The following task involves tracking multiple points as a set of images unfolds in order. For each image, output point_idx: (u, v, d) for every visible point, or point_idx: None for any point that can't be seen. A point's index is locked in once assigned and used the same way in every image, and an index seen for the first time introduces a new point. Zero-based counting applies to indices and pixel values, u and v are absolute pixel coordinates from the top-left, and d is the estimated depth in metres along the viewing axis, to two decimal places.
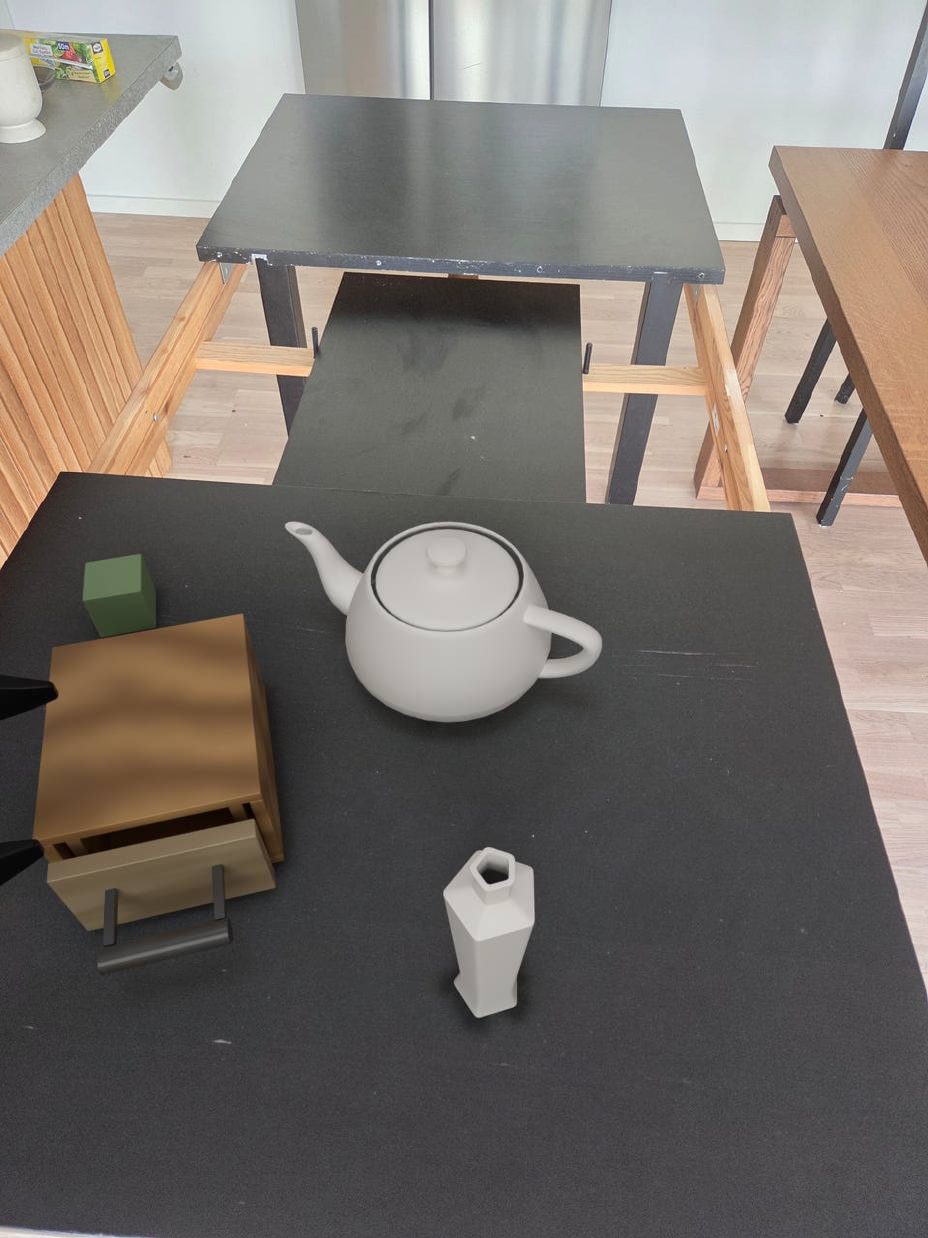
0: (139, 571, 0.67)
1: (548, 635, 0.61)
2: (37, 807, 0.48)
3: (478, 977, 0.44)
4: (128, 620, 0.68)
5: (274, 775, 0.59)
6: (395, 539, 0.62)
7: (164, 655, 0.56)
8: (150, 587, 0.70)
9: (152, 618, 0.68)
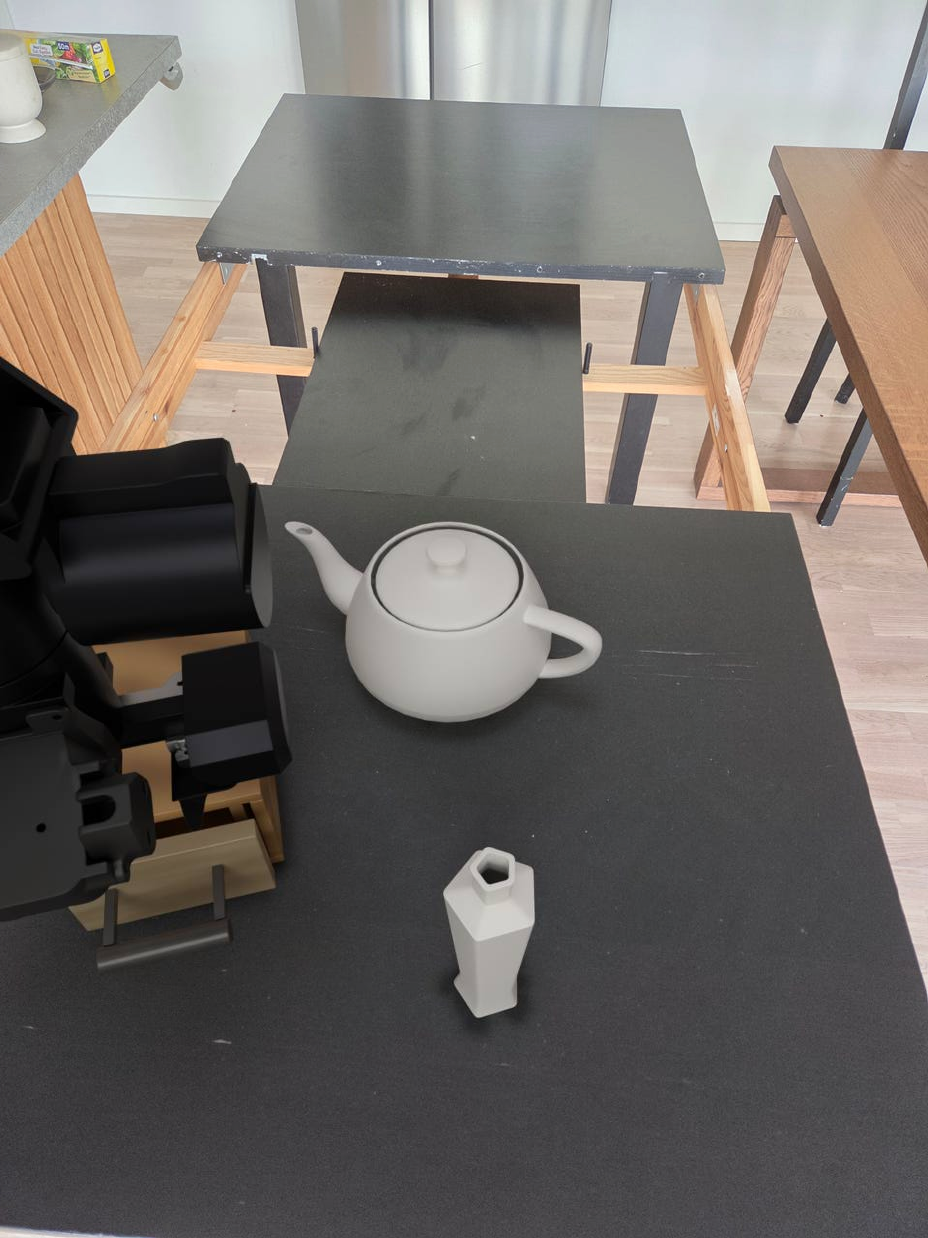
0: None
1: (548, 635, 0.61)
2: None
3: (478, 977, 0.44)
4: None
5: (274, 775, 0.59)
6: (395, 539, 0.62)
7: (164, 655, 0.56)
8: None
9: None
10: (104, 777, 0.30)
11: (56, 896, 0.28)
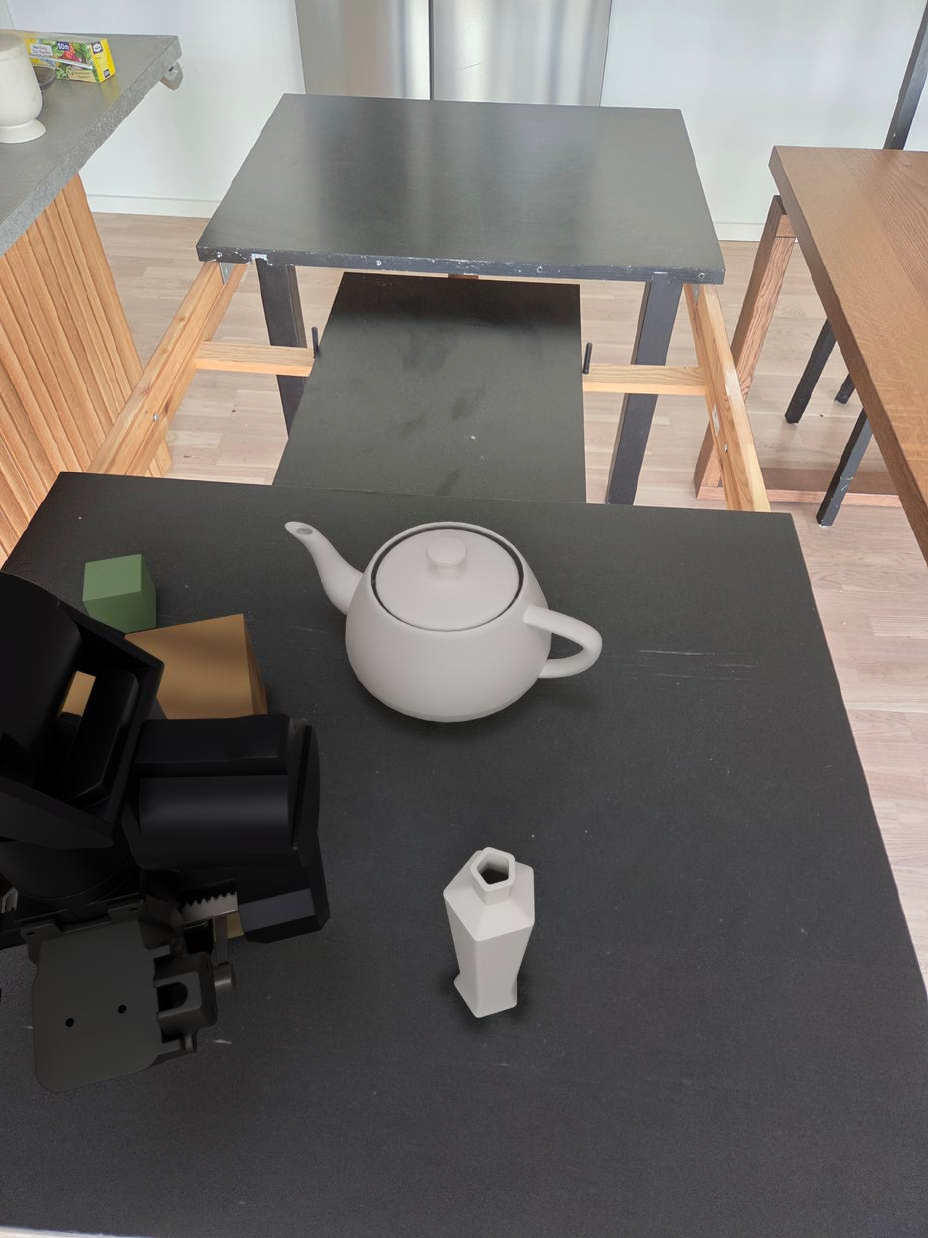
0: (139, 571, 0.67)
1: (548, 635, 0.61)
2: None
3: (478, 977, 0.44)
4: (128, 620, 0.68)
5: None
6: (395, 539, 0.62)
7: (164, 655, 0.56)
8: (150, 587, 0.70)
9: (152, 618, 0.68)
10: (174, 958, 0.35)
11: None
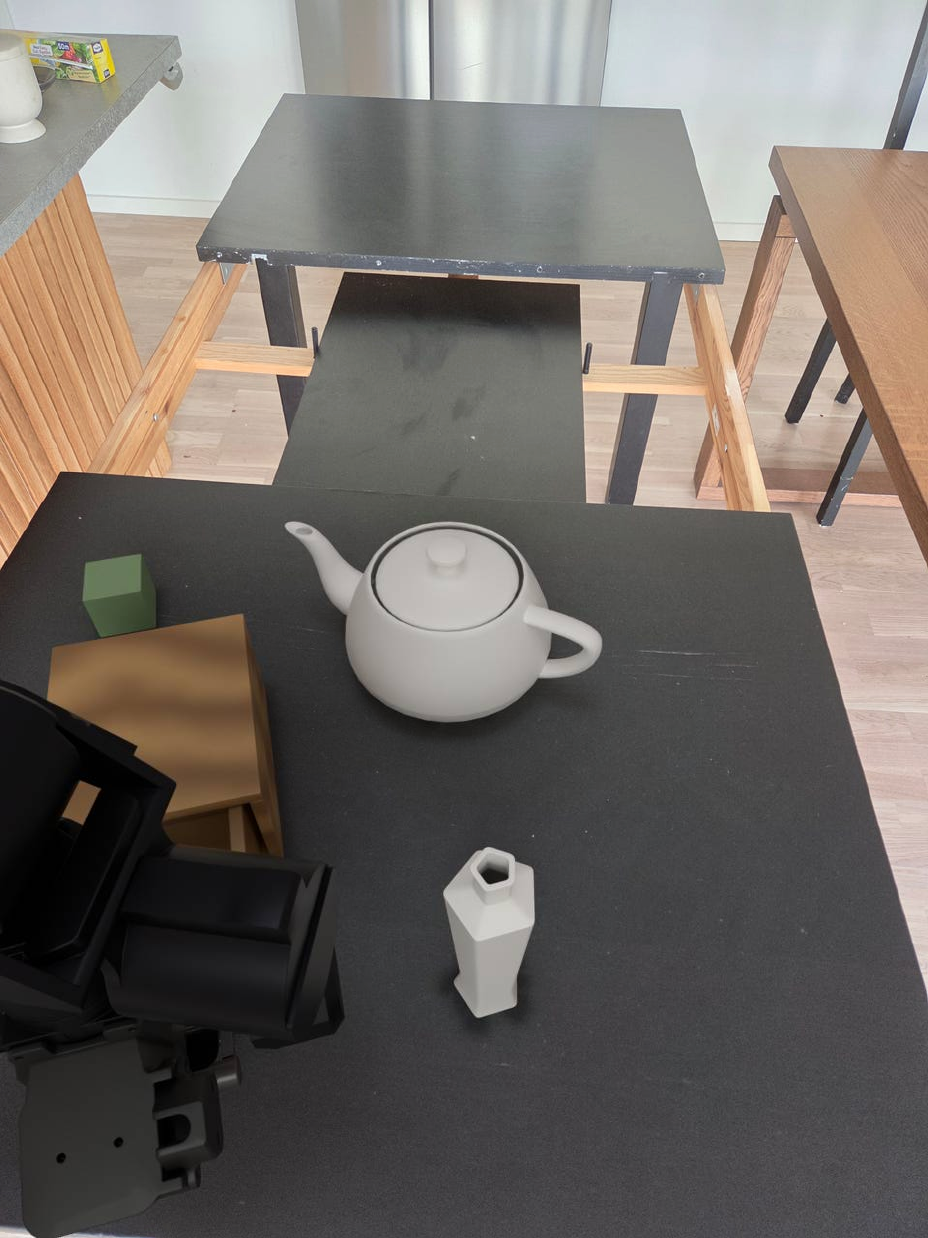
0: (139, 571, 0.67)
1: (548, 635, 0.61)
2: None
3: (478, 977, 0.44)
4: (128, 620, 0.68)
5: (274, 775, 0.59)
6: (395, 539, 0.62)
7: (164, 655, 0.56)
8: (150, 587, 0.70)
9: (152, 618, 0.68)
10: (176, 1082, 0.32)
11: (134, 1215, 0.30)
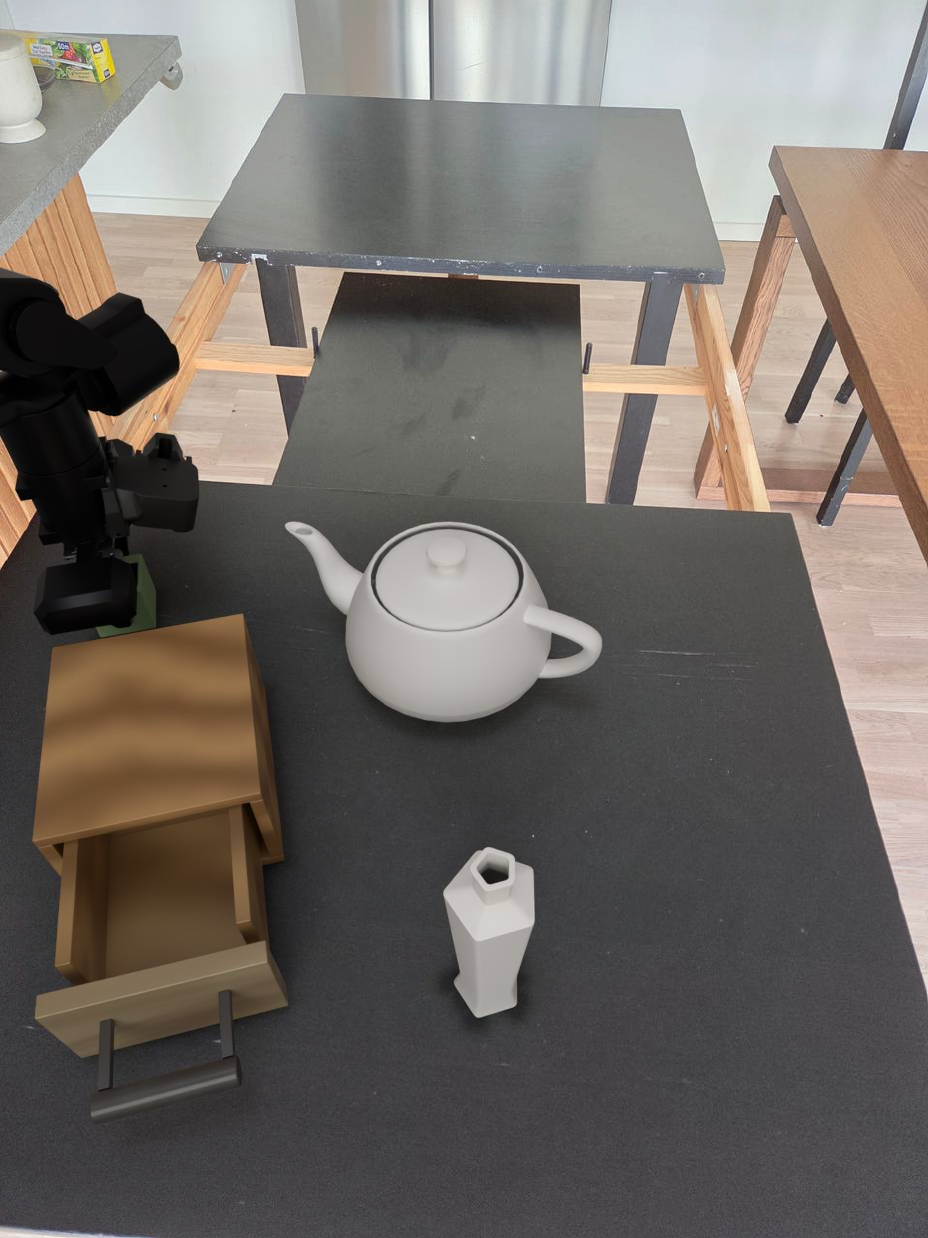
0: (139, 571, 0.67)
1: (548, 635, 0.61)
2: (37, 807, 0.48)
3: (478, 977, 0.44)
4: None
5: (274, 775, 0.59)
6: (395, 539, 0.62)
7: (164, 655, 0.56)
8: (150, 587, 0.70)
9: (152, 618, 0.68)
10: (143, 455, 0.63)
11: (197, 472, 0.63)
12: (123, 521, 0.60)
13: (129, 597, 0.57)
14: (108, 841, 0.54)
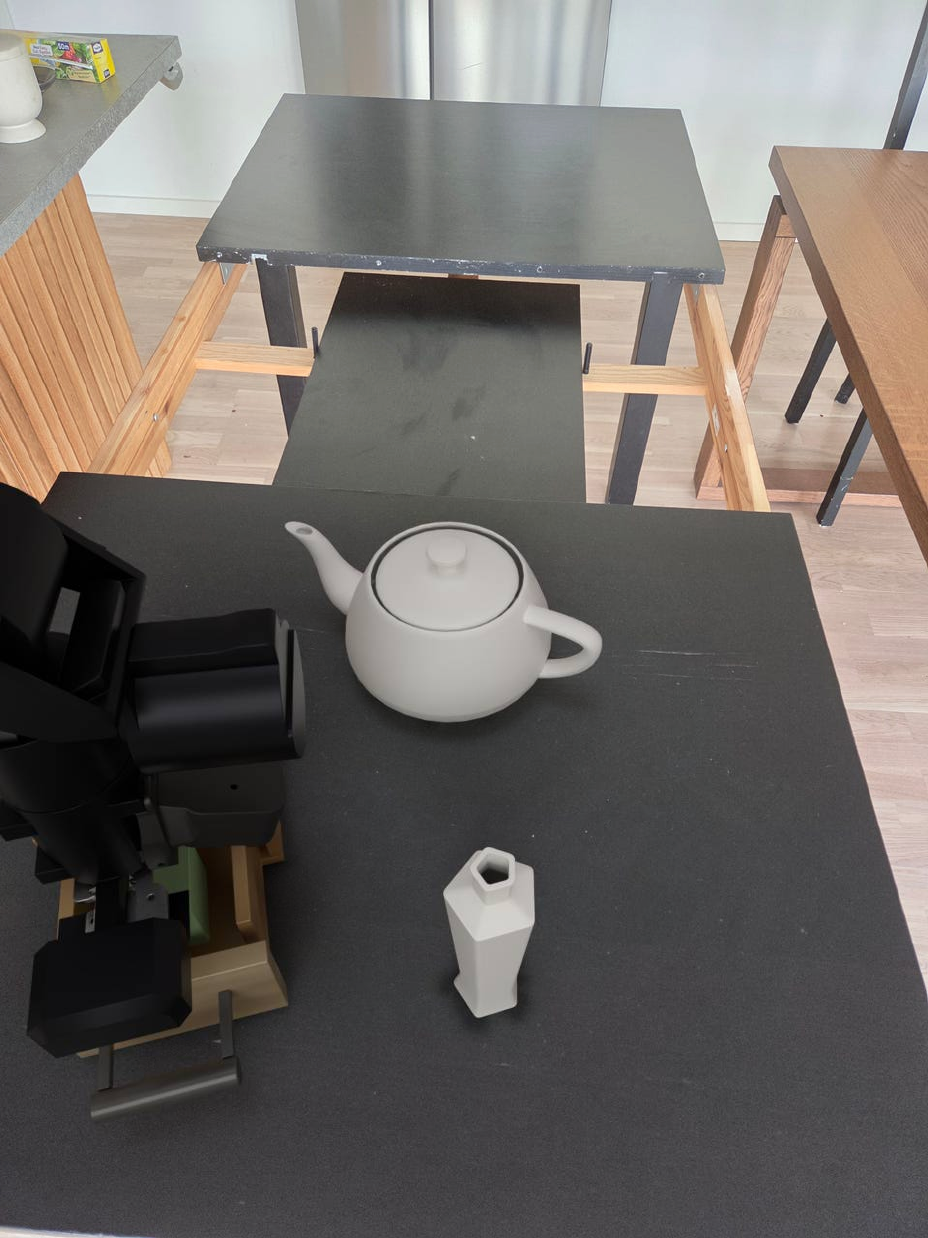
0: (186, 870, 0.45)
1: (548, 635, 0.61)
2: None
3: (478, 977, 0.44)
4: None
5: None
6: (395, 539, 0.62)
7: None
8: (201, 878, 0.48)
9: (205, 933, 0.46)
10: None
11: None
12: (169, 850, 0.38)
13: (182, 996, 0.35)
14: None
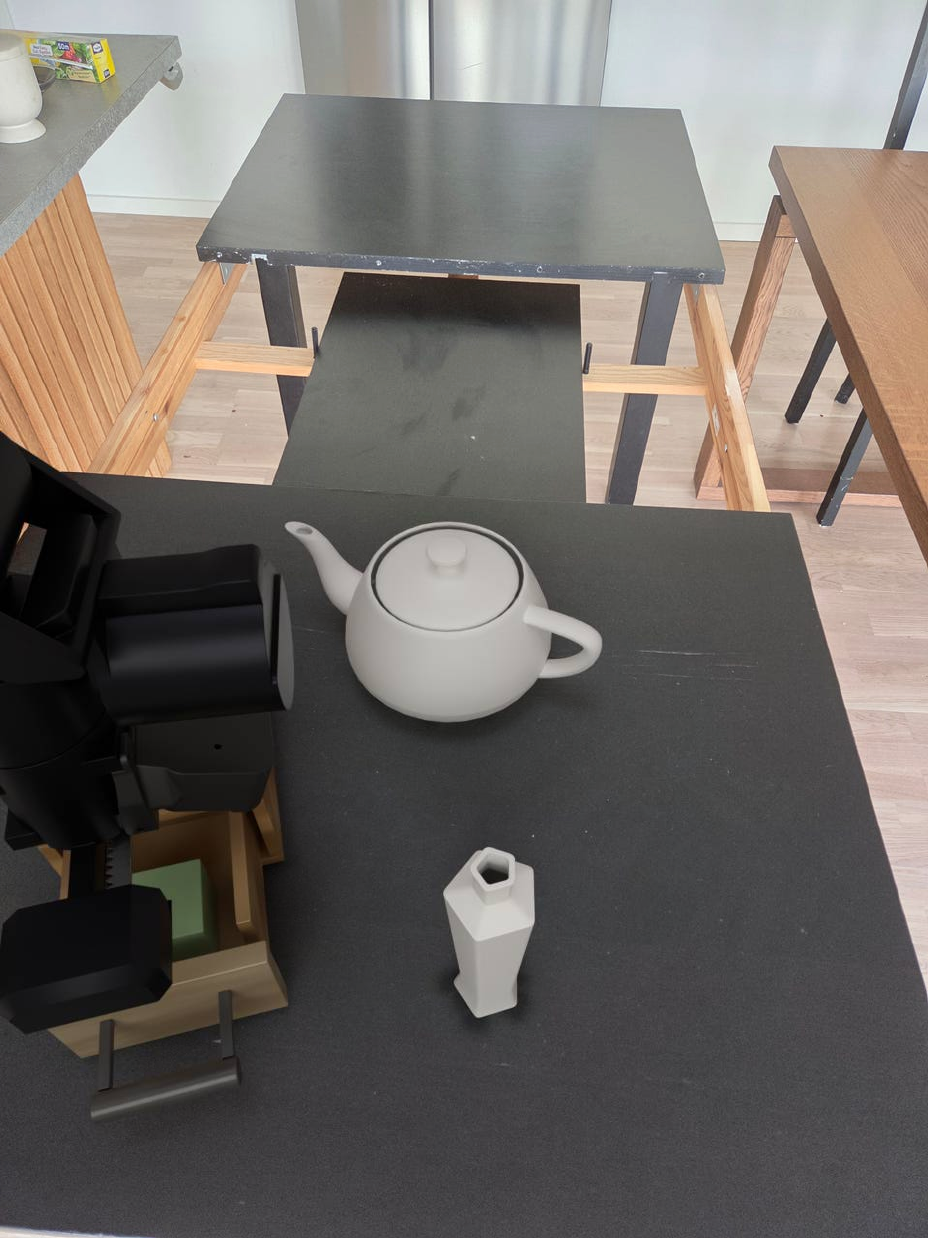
0: (198, 892, 0.47)
1: (548, 635, 0.61)
2: None
3: (478, 977, 0.44)
4: None
5: (274, 775, 0.59)
6: (395, 539, 0.62)
7: None
8: (211, 899, 0.50)
9: None
10: None
11: None
12: (149, 813, 0.35)
13: (161, 967, 0.33)
14: None
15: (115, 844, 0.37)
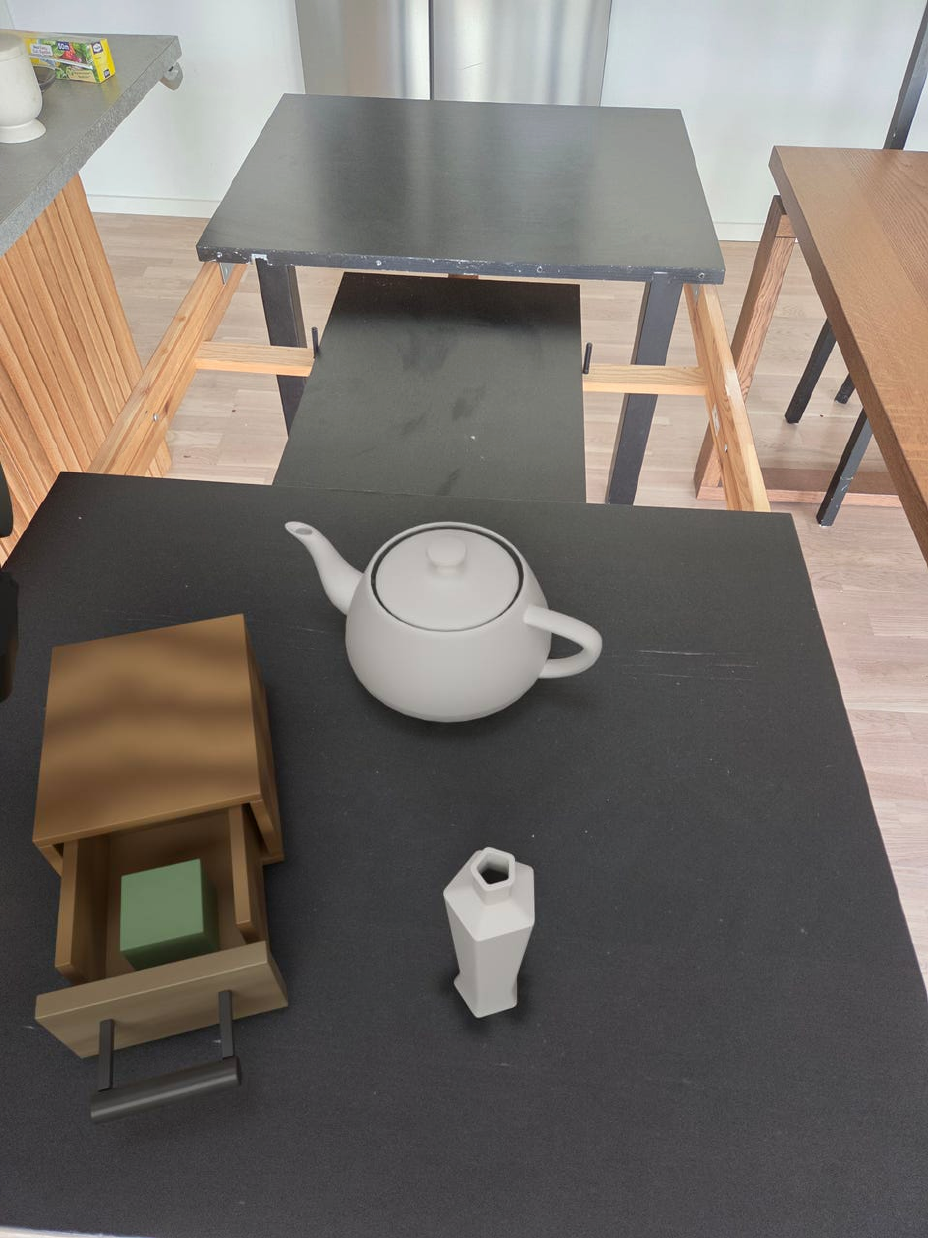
0: (198, 892, 0.47)
1: (548, 635, 0.61)
2: (37, 807, 0.48)
3: (478, 977, 0.44)
4: None
5: (274, 775, 0.59)
6: (395, 539, 0.62)
7: (164, 655, 0.56)
8: (211, 899, 0.50)
9: None
10: None
11: (17, 600, 0.38)
12: None
13: None
14: (108, 841, 0.54)
15: None
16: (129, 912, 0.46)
